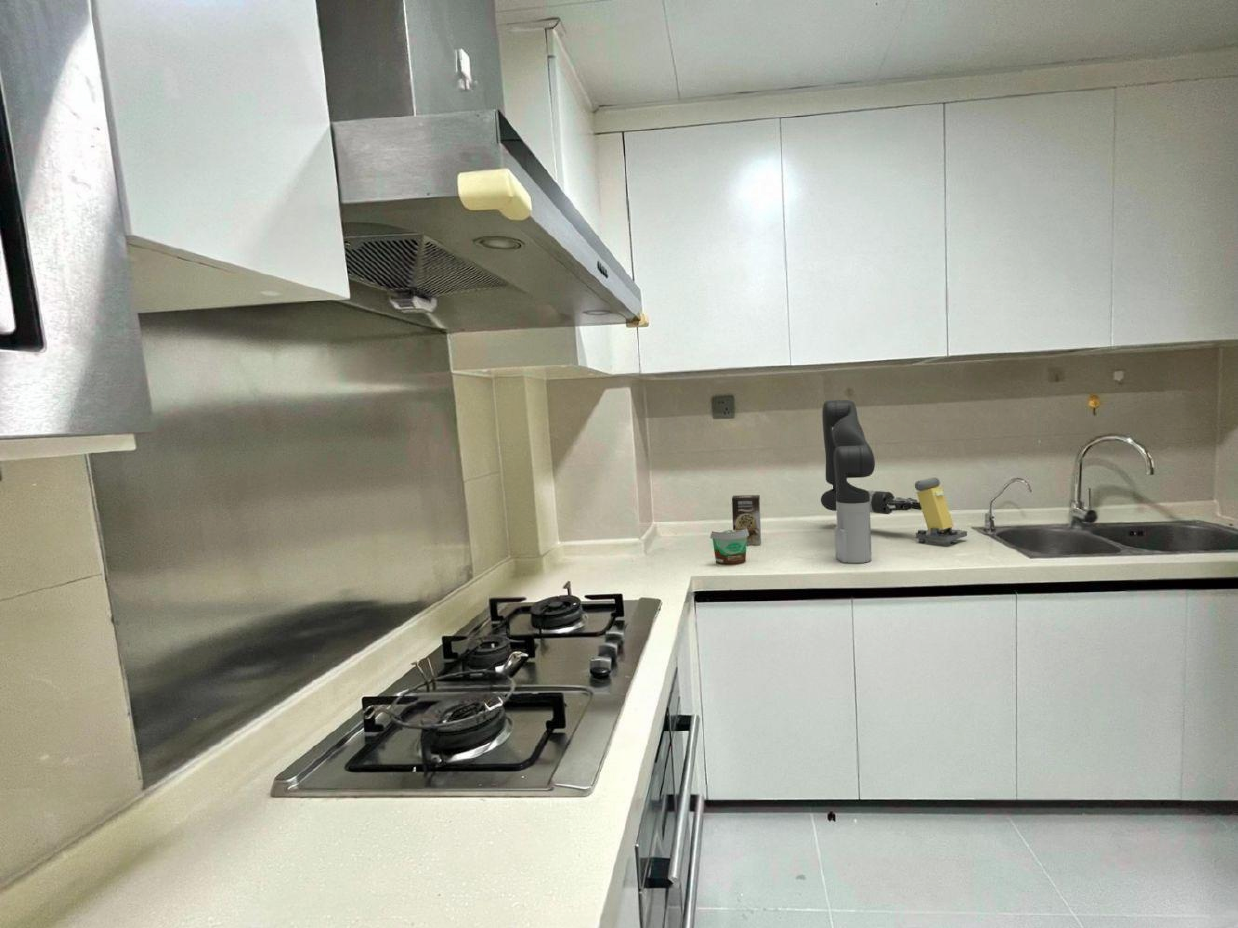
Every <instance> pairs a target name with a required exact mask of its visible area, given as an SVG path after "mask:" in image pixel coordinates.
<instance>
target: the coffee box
mask: <svg viewBox="0 0 1238 928" xmlns="http://www.w3.org/2000/svg"><path fill="white" fill-rule="evenodd" d="M760 499H761V497H760V495H758V494H756V495H755V494H754V495H753V494H752V495H751V494H750V495H744V494H743V495H732V496H731V507H732V508H731V509H732V512H731V513H732V530H741V529H744V526H745V527H747V530H748V533H749V536H748V537H747V543H746V546H761V545H762V532H761V506H760V505H761V502H760V501H761V500H760Z"/></svg>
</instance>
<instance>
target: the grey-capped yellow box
mask: <svg viewBox="0 0 1238 928" xmlns="http://www.w3.org/2000/svg"><path fill="white" fill-rule="evenodd" d="M940 483H941V481H940V480H939V478H937V477H931V478H926V479H921V480H917V481H916V482H915V483H914V488H915V490H916V494H917V498H918V502H920V505H921V508H922V510H921V511H922V515H923V518H924V521H925V524H926V527H927V530H928V531H929V532H931V528H932V527H933V528H939V532H942V531H945V530H948V529H949V528H950V527H954V523H953V520H952V517H951V513H950V509H949V508H948V504H947V500H946V497H945V494H944V491H943V487H942V486H940Z"/></svg>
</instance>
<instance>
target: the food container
mask: <svg viewBox="0 0 1238 928" xmlns="http://www.w3.org/2000/svg"><path fill="white" fill-rule="evenodd" d="M748 536H749V533H748V530H747V527H745V526H744V529H741V530H733V529H731V530H730V529H729V530H726V531H714V530H713V531H712V530H711V533H710V539H712V544H713V550H714V551H713V552H714V558H715V563H716V565H719V566H720V565H722V566H737V565H738V566H739V565H743V564H744V563H746V562H747V561H746V559H747V545H746V543H747V537H748Z"/></svg>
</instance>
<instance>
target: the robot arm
mask: <svg viewBox="0 0 1238 928" xmlns="http://www.w3.org/2000/svg"><path fill="white" fill-rule="evenodd" d="M821 412H822V413H821V415H822V416H821V417H822V431H823V443H824V452H825V482H827V484H829V485H831V486H832V485H833V489H832V488H831V489H829V490H827V491H824V493H823V494H822V495H821V497H820V503H821V505H822V507H824V509H826V510H829V511H832V512H835V513H836V514H835V515H836V525H835V526H834V548H835V549H834V553H835V555H834V556H835V559H836V560H838V561H839V562H841V563H849V564H850V563H851V564H862V563H868V562H871V561H872V529H871V513H872V514H881V515H883V514H884V515H890V514H891V513H892V512H894V511H895V512H896V511H904V512H905V511H913V510H918V511H922V508H921V505H920V502H919V501H918V500H917V499H914V498H911V497H908V498H903V497H900V496H897V497H895V496H894V494H893V493H892V492H890V491H883V490H882V491H881V490H880V491H879V490H866V489H865V488H864V489H863V488H860V487H857V486H855V485H853V484H851V483H850V482H848V479H853V478H854V479H855V478H867V477H870V476H871V475H872V474H873V473H874V471H875V468H876V467H875V466H876V462H875V461H876V459H875V455H874V452H873V449H872V448H871V446H870V444H869V443H868V441H867V440H866V436H865V434H864V431H863V428H862V426H861V423H860V421H859V416H858V412H857V406H856V404H855V402H853V401H852V400H847V399H842V400H841V399H837V400H826V401H824V402H823V405H822V411H821Z"/></svg>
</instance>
